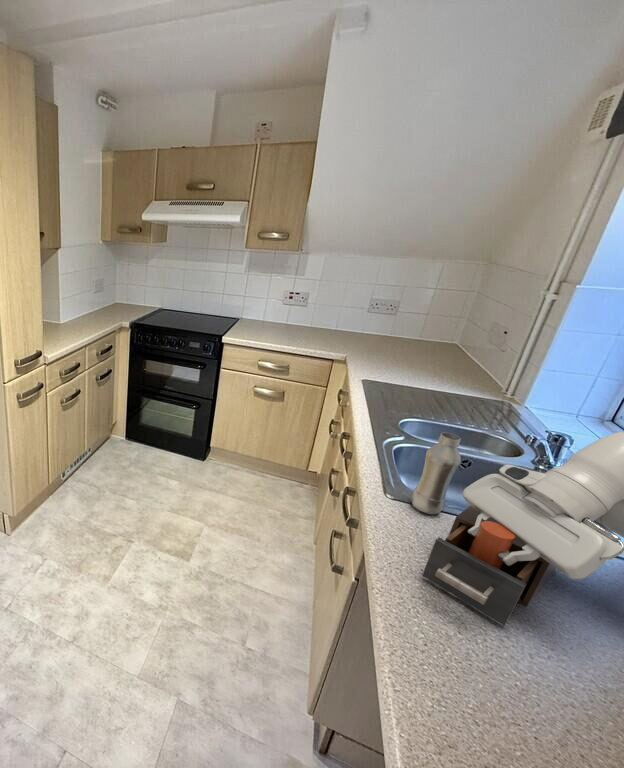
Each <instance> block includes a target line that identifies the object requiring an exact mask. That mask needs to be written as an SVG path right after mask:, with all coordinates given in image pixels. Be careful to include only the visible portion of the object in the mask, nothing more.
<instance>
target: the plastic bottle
mask: <svg viewBox="0 0 624 768" xmlns="http://www.w3.org/2000/svg"><path fill="white" fill-rule="evenodd" d="M437 442H438V443H436V444H433V445H432V446H430V447H429V448H428V449H427V450H426V453H425V459H424V465H423V470H422V473H421V476H420V479H419V480H418V483H417V485H416V486H415V487H414V489H413V491H412V493H411V497H410V502H411V504H412V506H413V507H414V508H415V509H416V510H418V511H420V512H422V513H424V514H428V515H438V514H439V513H441V512H442V511H443V509H444V508H445V504H446V495H447V493H448V488H449V485H450V482H451V481H452V479H453V477H454V475H455V473H456V471H457V469H459V467H460V465H461V463H462V458H461V453H460V452H459V450H458V448H459V447H460V443H461V437H460V436H458V435H457V434H454V433H451V432H441V433H440V435H439V437H438V439H437Z"/></svg>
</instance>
